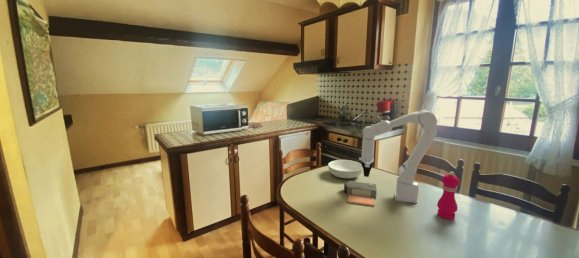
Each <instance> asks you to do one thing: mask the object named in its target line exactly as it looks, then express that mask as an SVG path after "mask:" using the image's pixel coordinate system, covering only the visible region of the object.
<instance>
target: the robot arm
mask: <svg viewBox="0 0 579 258" xmlns="http://www.w3.org/2000/svg"><path fill="white" fill-rule="evenodd" d="M411 123H412V124H419V125H420V127H421V129H422V134H421V136H420V138H418V141H417V142H416V145H415V146H414V148H413V149H412V151H411V152H410V154H409V156H408V158H407V160H406V161H404V162H403V164H401V165H400V166H399V167H398V168H397V174H398V177H397V178H396V187H395V188H396V189H395V192H394V193H393V194H394V195H393V196H394V199H395V201H397V202H404V203H405V202H406V203H413V204H418V199H419V198H418V197H419V183H418V182H416V181H415V177H416V173H417V172H418V171H417V170H418V166H419V164H420V163H421V161H422V160H423V158H424V156H425V154H426V153H427V152H428V150H429V148H430V147H431V145H432V143H433V142H434V140H435V138H436V137H437V135H438V119H437V117H436V115H435V114H434V113H433V112H430V111H428V110H427V109H420V110H418V111H413V112H410V113H408V114H405V115H403V116H400V117H398V118H395V119H391V120H387V119H385V120H383V119H381V120H380V122H378V123H374V124H373V123H371V124H370V125H367V126H365V127H364V128H363V130H362V135H363V136H362V142H361V157H358V159H359V161H361V163H360V164H361V165H362V167H363V171H362V173H363V176H364V177H366V178H369V177H370V172H371V169H372V168H373V166H374V161H375V160H374V155H375V138H376V136H378V137H379V136H381V135H383V134H386V133H389V132H391V131H392V129H393V128H396V127H399V126H403V125H406V124H411Z"/></svg>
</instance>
